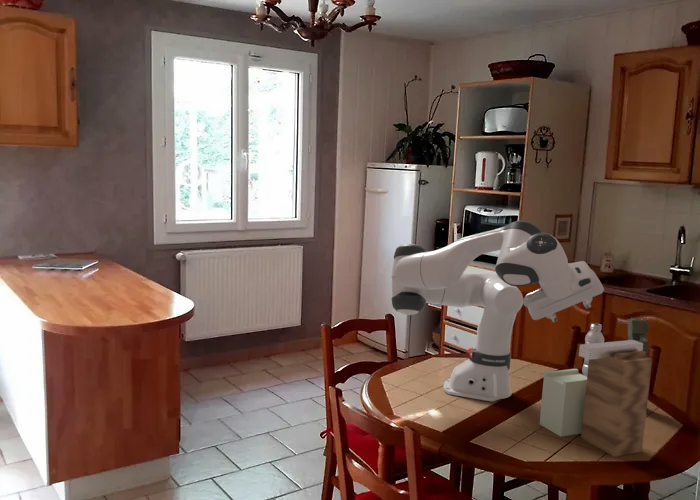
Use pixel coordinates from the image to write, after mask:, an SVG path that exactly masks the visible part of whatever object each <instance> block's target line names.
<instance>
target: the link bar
mask: <svg viewBox="0 0 700 500" xmlns="http://www.w3.org/2000/svg"><path fill="white" fill-rule="evenodd" d="M642 350H643V343H641V342H638V341H635V340H628V339H627V340H618V341H615V340H614V341H606V342H605V341H604V343H593V344H585V343H584V344H583V343H581V344H579V350H578V356H579V357H580V358H581V357H582V358H583V359H585V358H586V359H588V360H590V359H599V358H609V357H614V354H615V353H625V352H635V351H642Z"/></svg>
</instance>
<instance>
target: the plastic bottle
mask: <svg viewBox="0 0 700 500" xmlns="http://www.w3.org/2000/svg"><path fill="white" fill-rule="evenodd" d="M602 327H603V325H602V324H600V323H596V322H595V323H593V322H591V323H590V327H589V329H590V330H588V332H587V334H585V338H584V341H585V342H584V344H593V343H604V342H605V337H604V335H603V333H602V332H601V331H602ZM588 364H589V360H588V359H586V358H584V361H583V365H582V367H581V370H582V375H584V376H586V377H587V374H588Z"/></svg>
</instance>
